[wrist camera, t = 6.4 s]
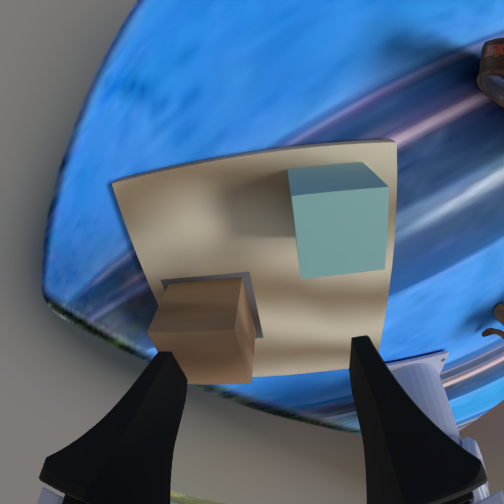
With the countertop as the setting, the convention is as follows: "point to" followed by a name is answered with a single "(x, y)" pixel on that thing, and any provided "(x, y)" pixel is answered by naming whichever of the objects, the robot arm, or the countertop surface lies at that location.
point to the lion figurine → (500, 317)
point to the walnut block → (207, 330)
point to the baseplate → (261, 248)
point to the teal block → (339, 219)
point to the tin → (492, 70)
